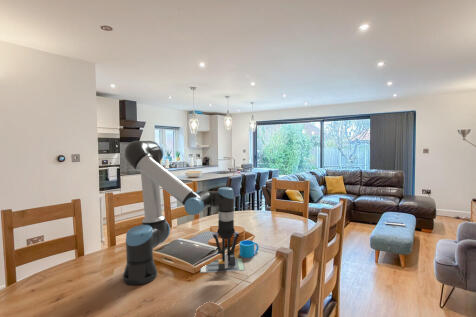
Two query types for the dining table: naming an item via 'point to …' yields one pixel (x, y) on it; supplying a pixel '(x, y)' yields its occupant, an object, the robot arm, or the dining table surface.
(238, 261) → the panel
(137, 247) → the robot arm
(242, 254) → the mug
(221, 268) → the breaker
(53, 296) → the dining table surface
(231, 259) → the breaker
